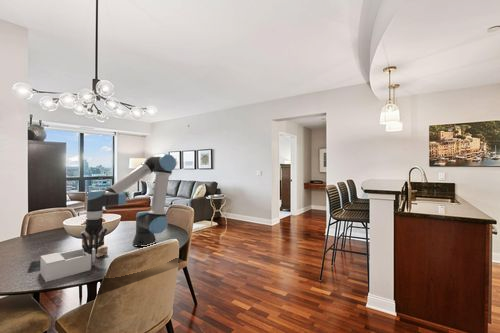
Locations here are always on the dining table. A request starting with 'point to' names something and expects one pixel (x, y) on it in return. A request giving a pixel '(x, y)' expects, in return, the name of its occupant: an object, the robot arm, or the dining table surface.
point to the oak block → (101, 251)
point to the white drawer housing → (64, 264)
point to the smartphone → (34, 267)
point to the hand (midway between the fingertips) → (92, 260)
